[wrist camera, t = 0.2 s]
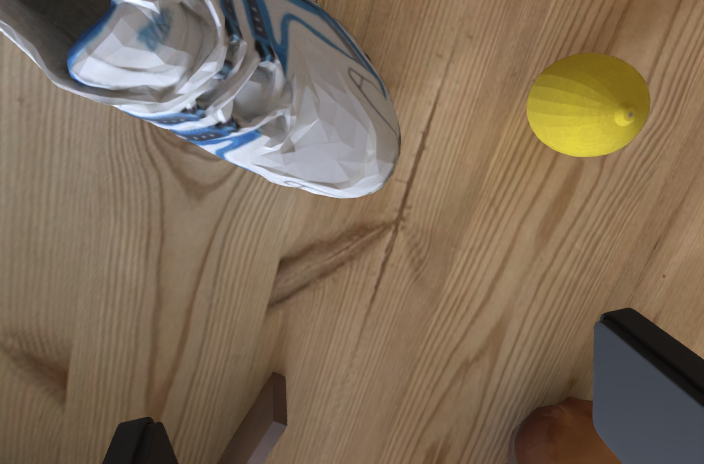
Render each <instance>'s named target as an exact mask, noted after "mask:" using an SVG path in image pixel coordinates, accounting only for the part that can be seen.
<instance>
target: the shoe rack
mask: <svg viewBox="0 0 704 464" xmlns="http://www.w3.org/2000/svg"><path fill="white" fill-rule="evenodd" d="M286 427H287V402H286V377H285V376H282V375H280V374H277V373H275V372H273V373H272V375H271V377H270V378H269V380H268V381H267V383H266V385H265V386H264V388H263V390H262V391H261V393H260V394H259V396H258V398H257V399H256V401H255V403H254V404H253V406H252V407H251V409H250V411H249V412H248V414H247V416H246V417H245V419H244V420H243V422H242V424H241V425H240V427H239V429H238V430H237V432H236V434H235V435H234V437H233V438H232V440H231V442H230V443H229V445H228V447H227V448H226V450H225V451H224V453H223V455H222V456H221V458H220V460H219V461H218V463H217V464H263V463H264V461H265V460H266V458H267V457H268V455H269V454H270V452H271V450H272V449H273V447H274V446H275V444H276V443H277V441H278V440H279V438H280V436H281V435H282V433H283V432H284V430H285V429H286Z"/></svg>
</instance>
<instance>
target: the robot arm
mask: <svg viewBox="0 0 704 464" xmlns="http://www.w3.org/2000/svg"><path fill="white" fill-rule="evenodd" d="M592 418H593V424H594V427H595V429H596V431H597V433H598V435H599V436H600V437H601V439H602V440H603V441H604V442H605V443H606V444H607V446H608V447H609V448H610V449H611V450H612V452H613V453H614V454H615V455H616V456H617V457H618V459H619V460H620V461H621V462H622V463H623V464H704V359H702V358H701V357H699V356H698V355H697V354H695V353H694V352H692V351H691V350H690V349H688V348H687V347H686V346H684V345H683V344H681V343H680V342H679V341H677V340H676V339H674V338H673V337H672V336H670V335H669V334H668V333H666V332H665V331H663V330H662V329H661V328H659V327H658V326H656V325H655V324H654V323H652V322H651V321H650V320H648V319H647V318H645V317H644V316H643V315H641V314H640V313H638V312H637V311H636V310H634V309H632V308H624V309H620V310H615V311H611V312H606V313H604V314H602V315H601V317H600V321H598V322H596V323H595V325H594V358H593V414H592ZM102 464H178V462H177V459H176V457H175V454H174V451H173V449H172V446H171V443H170V441H169V438H168V435H167V433H166V430H165V427H164V425H163V423H162V422H156V423H154V421H153V419H152V418H151V417H144V418H140V419H136V420H131V421H127V422H123V423H120V424H119V425H118V427H117V429H116V431H115V434H114V436H113V438H112V441H111V443H110V446H109V448H108V451H107V453H106V455H105V458H104V460H103V463H102Z"/></svg>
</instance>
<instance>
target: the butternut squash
mask: <svg viewBox="0 0 704 464" xmlns="http://www.w3.org/2000/svg"><path fill="white" fill-rule="evenodd" d="M592 414H593V401H588V400H579V399H577V398H574V397H568V398H567V399H565V400H564V401H562V402H560V403H558V404H554V405H549V406H544V407H538V408H536V409H535V410H534V411H533V412H531V413H530V414H529V415H528V416H527V417H526V418H525V419H524V420H523V421H522V422H521V423H520V424H519V425H518V426H517V427H516V428H515V429H514V430H513V432H512V434H511V436H510V441H509V448H508V455H507V463H506V464H623V463H622V462H621V461H620V460H619V459H618V457H617V456H616V455H615V454H614V453H613V452H612V450H611V449H610V448H609V447H608V446H607V444H606V443H605V442H604V441H603V440H602V439H601V437H600V436H599V435H598V433H597V431H596V429H595V427H594V424H593V418H592Z"/></svg>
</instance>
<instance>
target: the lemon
mask: <svg viewBox="0 0 704 464" xmlns="http://www.w3.org/2000/svg"><path fill="white" fill-rule="evenodd" d="M649 110H650V94H649V89H648V87H647V85H646V82H645V80H644V78H643V77H642V76H641V74H640V73H639V72H638V71H637V70H636V69H635V68H634V67H632V66H631V65H629V64H628V63H626V62H624V61H623V60H621V59H619V58H616V57H613V56H609V55H605V54H601V53H582V54H575V55H572V56H569V57H566V58H563V59H560V60H558V61H557V62H555V63H553V64H552V65H550V66H549V67H547V68H546V69H545V70H544V71H543V72H542V73H541V74H540V75H539V76H538V77H537V79H536V81H535V82H534V84H533V85H532V87H531V90H530V93H529V96H528V101H527V116H528V120H529V123H530V126H531V128H532V130H533V132H534V133H535V134H536V136H537V137H538V138H539V140H541V141H542V142H543V143H544V144H546V145H547V146H549V147H550V148H551V149H553V150H555V151H558V152H561V153H564V154H566V155H570V156H579V157H595V156H600V155H605V154H609V153H612V152H614V151H616V150H618V149H621V148H623V147H624V146H625V145H627V144H628V143H629V142H631V141H632V140H633V139H634V138H635V137H636V136H637V135H638V133H639V132H640V131H641V129H642V128H643V126H644V124H645V122H646V120H647V117H648V114H649Z"/></svg>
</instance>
